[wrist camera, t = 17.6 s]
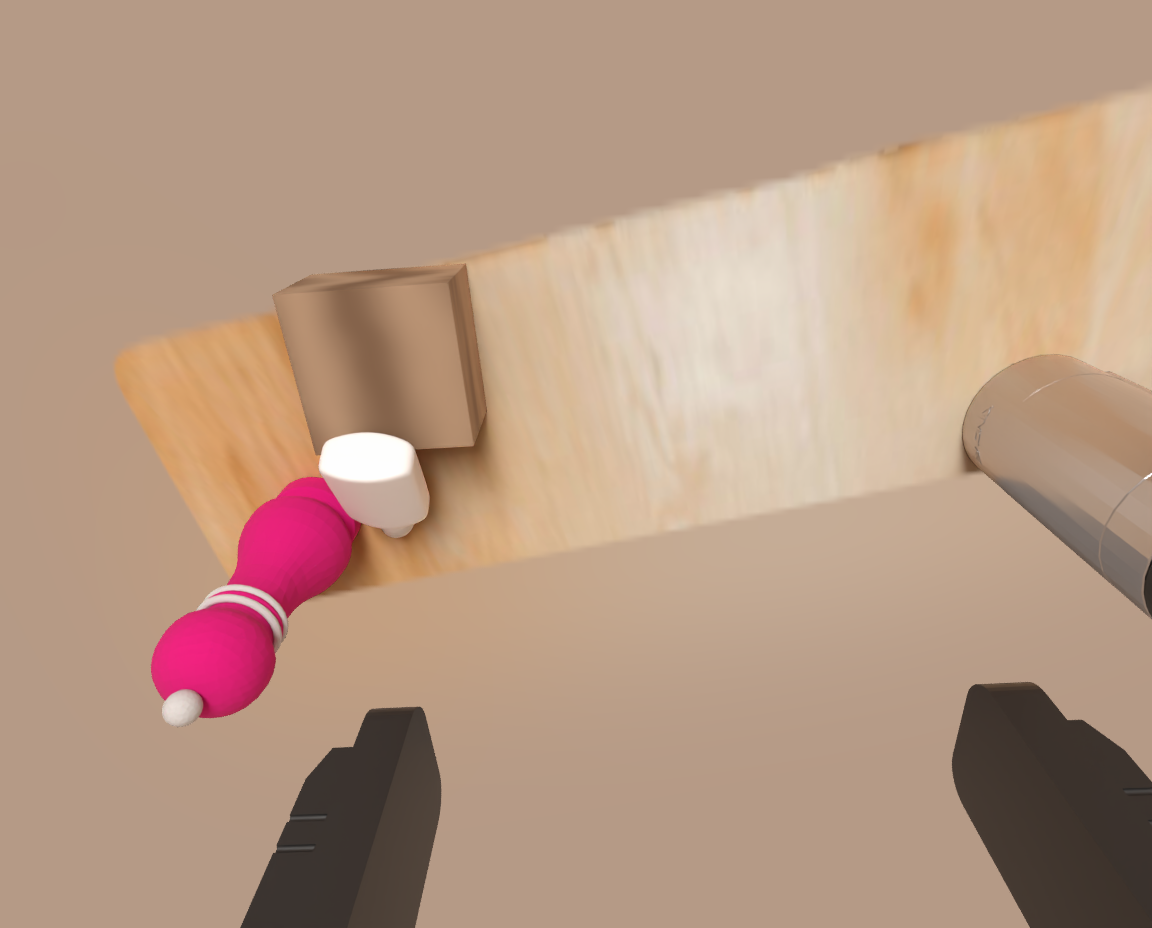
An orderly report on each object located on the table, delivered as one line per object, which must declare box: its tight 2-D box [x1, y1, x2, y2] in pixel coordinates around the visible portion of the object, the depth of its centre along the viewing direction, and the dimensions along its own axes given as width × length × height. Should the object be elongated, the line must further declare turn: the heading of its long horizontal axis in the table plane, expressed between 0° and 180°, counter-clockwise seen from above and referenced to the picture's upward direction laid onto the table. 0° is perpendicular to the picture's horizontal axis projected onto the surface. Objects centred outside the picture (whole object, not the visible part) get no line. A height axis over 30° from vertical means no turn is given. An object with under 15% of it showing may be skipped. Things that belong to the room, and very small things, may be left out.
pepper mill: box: [151, 477, 361, 727], centre depth 42 cm, size 7×7×20 cm
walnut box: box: [272, 264, 487, 455], centre depth 42 cm, size 10×10×6 cm
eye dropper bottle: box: [319, 432, 430, 538], centre depth 46 cm, size 4×6×12 cm
